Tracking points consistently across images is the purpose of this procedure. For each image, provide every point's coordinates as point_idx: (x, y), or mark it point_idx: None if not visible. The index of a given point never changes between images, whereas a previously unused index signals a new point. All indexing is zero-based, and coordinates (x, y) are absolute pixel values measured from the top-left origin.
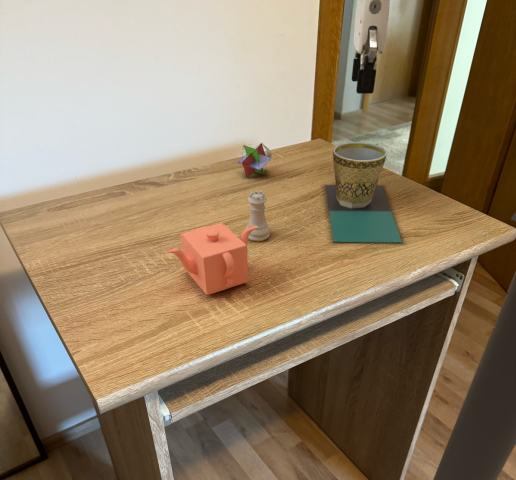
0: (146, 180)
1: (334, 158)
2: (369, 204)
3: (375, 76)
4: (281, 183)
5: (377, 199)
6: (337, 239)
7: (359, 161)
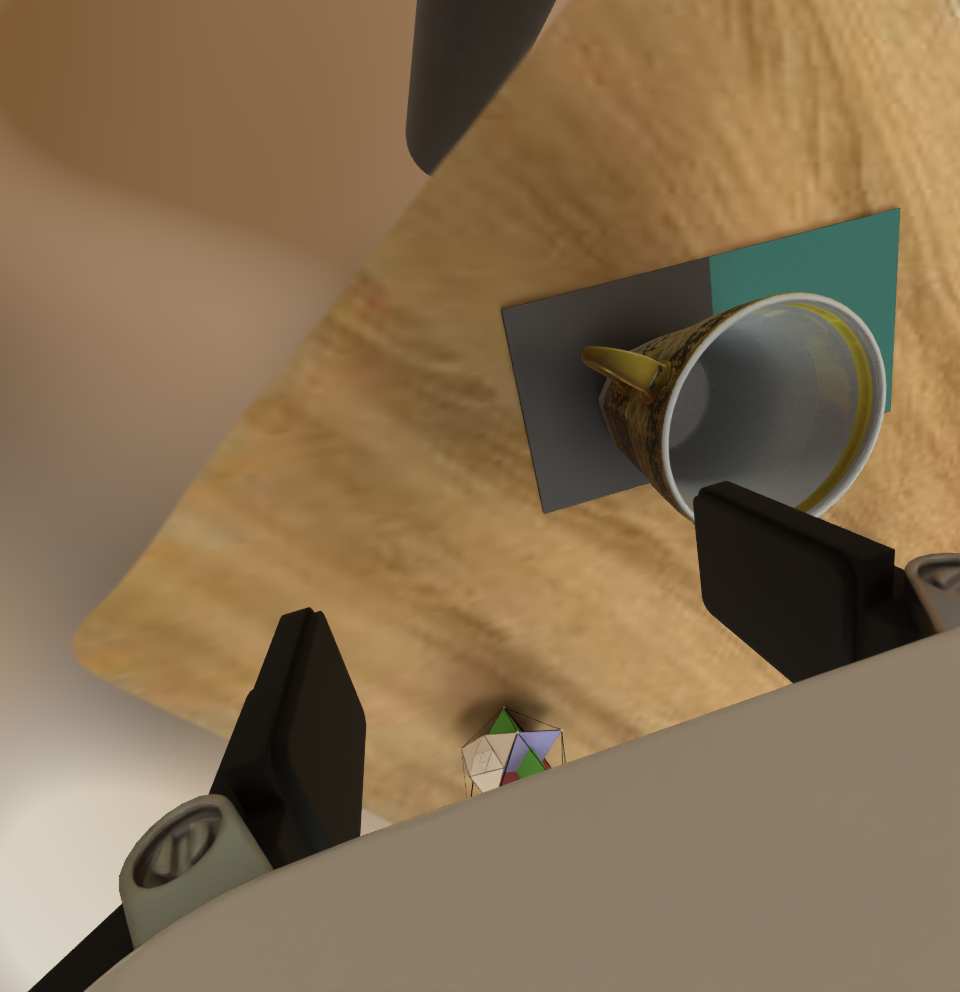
0: None
1: None
2: None
3: (829, 523)
4: (550, 644)
5: (626, 316)
6: None
7: (884, 408)
